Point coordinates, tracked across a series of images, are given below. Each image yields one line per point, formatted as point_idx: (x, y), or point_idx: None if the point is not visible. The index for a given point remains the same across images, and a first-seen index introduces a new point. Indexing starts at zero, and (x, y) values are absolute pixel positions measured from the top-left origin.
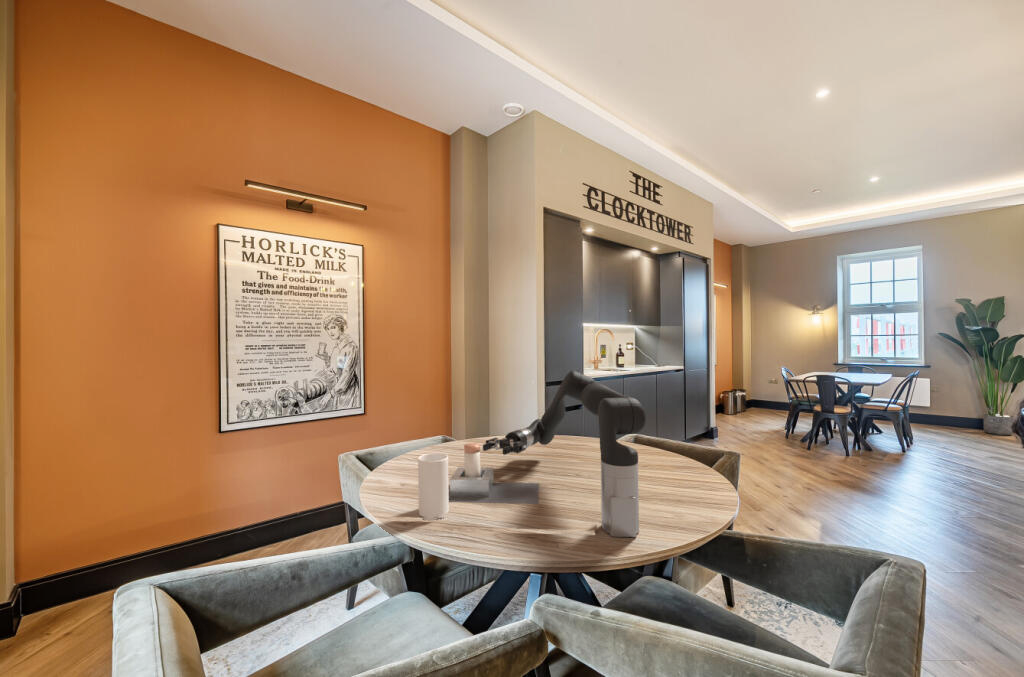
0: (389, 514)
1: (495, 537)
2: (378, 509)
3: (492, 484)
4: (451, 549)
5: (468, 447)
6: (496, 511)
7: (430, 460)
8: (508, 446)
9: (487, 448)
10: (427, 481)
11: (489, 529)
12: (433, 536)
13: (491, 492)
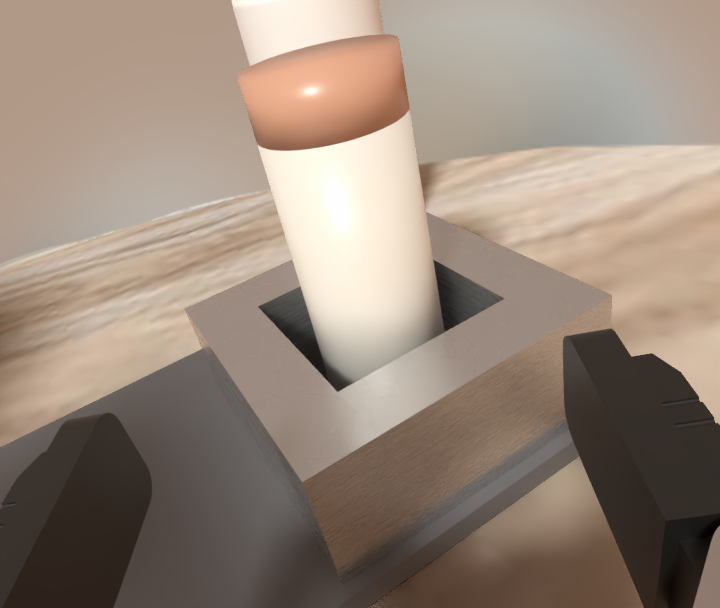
0: (489, 169)
1: (74, 281)
2: (561, 157)
3: (294, 503)
4: (171, 213)
5: (304, 50)
6: (133, 364)
7: (364, 11)
8: (4, 551)
9: (600, 476)
10: None
11: (109, 290)
12: (253, 205)
13: (241, 438)
